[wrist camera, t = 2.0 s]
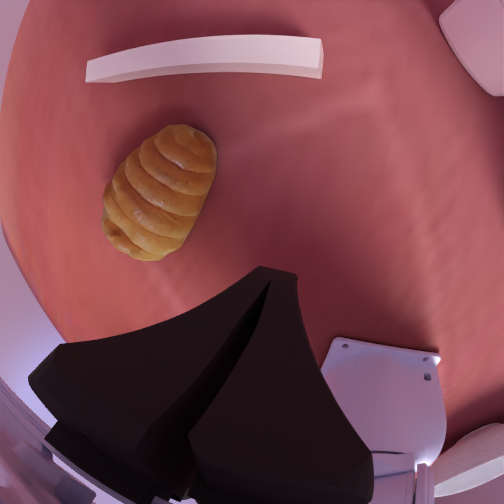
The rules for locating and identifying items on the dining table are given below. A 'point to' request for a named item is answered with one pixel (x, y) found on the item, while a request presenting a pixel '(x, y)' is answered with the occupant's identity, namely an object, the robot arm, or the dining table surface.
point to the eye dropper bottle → (478, 40)
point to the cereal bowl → (470, 461)
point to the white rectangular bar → (212, 58)
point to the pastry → (159, 192)
